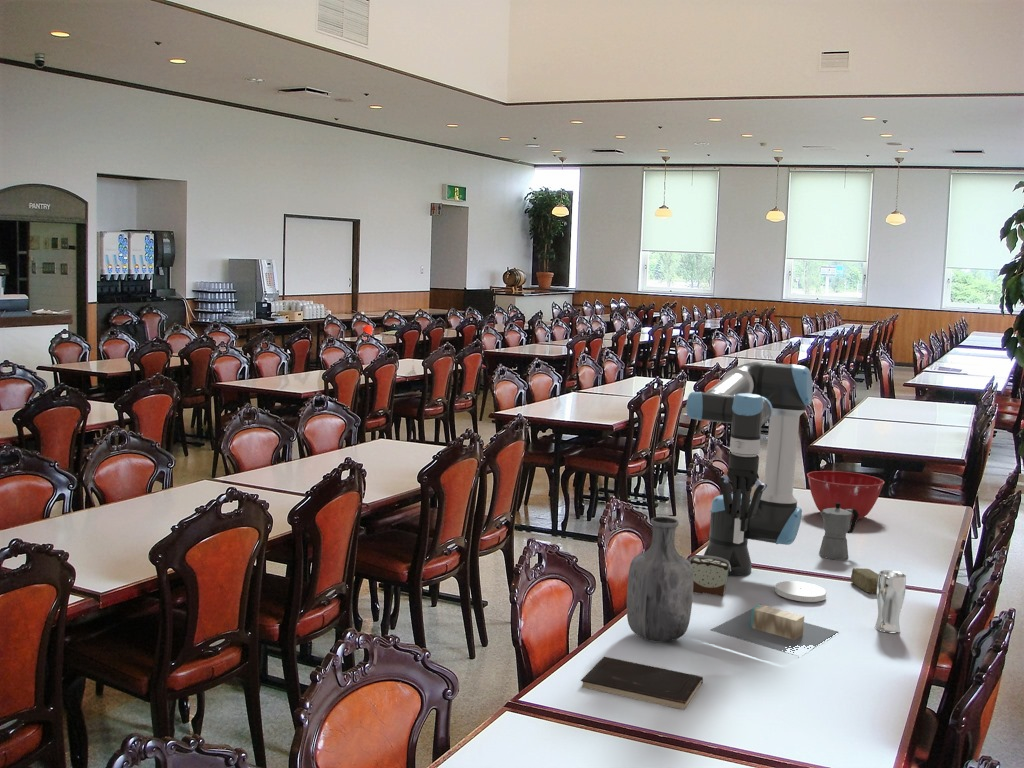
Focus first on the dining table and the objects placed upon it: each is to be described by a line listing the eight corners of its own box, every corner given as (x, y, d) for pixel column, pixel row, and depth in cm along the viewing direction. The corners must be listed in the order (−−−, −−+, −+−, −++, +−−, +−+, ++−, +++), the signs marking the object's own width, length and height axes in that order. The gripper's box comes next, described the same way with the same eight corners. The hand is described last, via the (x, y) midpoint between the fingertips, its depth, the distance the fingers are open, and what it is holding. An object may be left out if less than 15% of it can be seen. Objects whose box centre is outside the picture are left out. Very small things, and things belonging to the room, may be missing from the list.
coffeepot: (827, 561, 329) (831, 507, 327) (808, 553, 338) (812, 500, 336) (864, 558, 335) (869, 504, 333) (844, 550, 344) (849, 498, 342)
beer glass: (888, 635, 263) (893, 579, 261) (867, 626, 269) (872, 571, 267) (907, 632, 266) (912, 576, 264) (886, 623, 272) (891, 568, 270)
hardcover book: (684, 712, 212) (685, 702, 212) (580, 689, 221) (581, 679, 221) (702, 685, 227) (703, 675, 226) (604, 665, 236) (604, 655, 236)
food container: (733, 593, 292) (735, 559, 291) (728, 599, 286) (731, 564, 285) (691, 585, 297) (693, 552, 296) (685, 591, 291) (687, 557, 290)
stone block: (868, 595, 297) (870, 578, 296) (848, 583, 308) (850, 566, 307) (887, 594, 298) (888, 578, 297) (866, 582, 309) (867, 566, 309)
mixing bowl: (792, 507, 406) (795, 468, 404) (860, 508, 409) (864, 470, 408) (821, 525, 378) (824, 484, 376) (894, 526, 381) (898, 486, 380)
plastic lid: (765, 591, 296) (765, 583, 296) (803, 587, 301) (804, 579, 301) (796, 607, 283) (796, 598, 283) (836, 603, 289) (836, 594, 288)
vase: (674, 655, 242) (682, 532, 239) (613, 640, 250) (620, 520, 247) (699, 636, 256) (707, 519, 252) (641, 622, 264) (648, 508, 261)
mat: (709, 631, 259) (709, 629, 259) (752, 610, 278) (753, 608, 278) (798, 658, 244) (798, 656, 244) (838, 633, 263) (838, 631, 263)
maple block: (751, 608, 262) (796, 620, 254) (760, 604, 266) (804, 616, 258) (750, 627, 262) (794, 640, 255) (759, 622, 266) (802, 635, 259)
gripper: (714, 451, 265) (708, 539, 268) (761, 459, 256) (754, 550, 260) (728, 448, 270) (722, 534, 274) (774, 455, 262) (767, 544, 265)
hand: (738, 542), depth 267 cm, fingers closed
